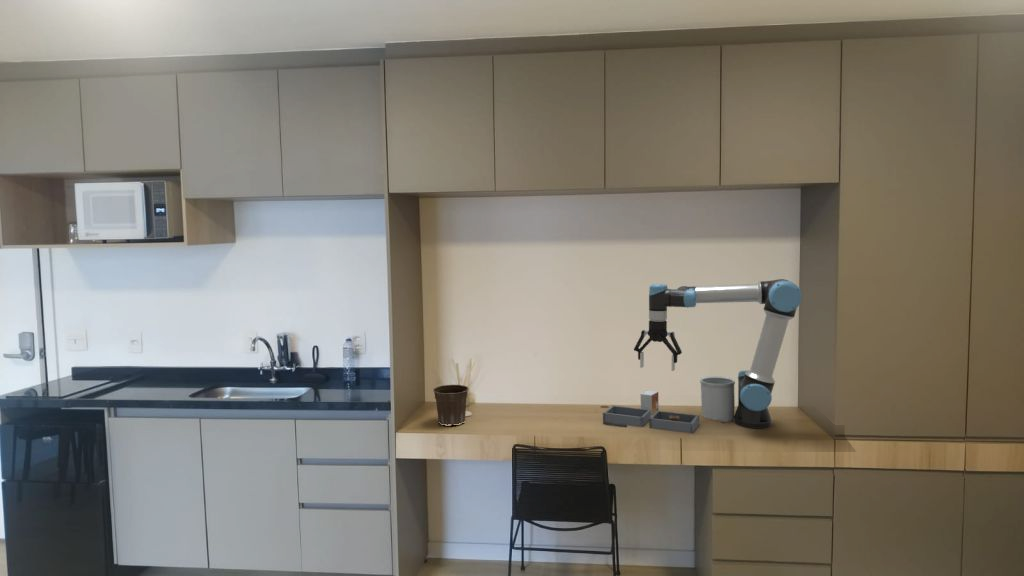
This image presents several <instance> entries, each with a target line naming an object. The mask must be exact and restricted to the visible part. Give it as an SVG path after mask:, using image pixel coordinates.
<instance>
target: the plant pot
mask: <svg viewBox="0 0 1024 576" xmlns="http://www.w3.org/2000/svg"><path fill="white" fill-rule="evenodd" d="M468 391H469V386H466V385H463V384H446V385H445V384H444V385H439V386H437V387H435V388H433V389H432V392H433V393H434V399H435V403H436V411H437V421H439V422H440V423H441V424H447V425H448V424H459V423H462V422H464V421H465V422H466V411H467V409H466V408H467V398H468V393H469V392H468ZM439 422H438V423H439Z"/></svg>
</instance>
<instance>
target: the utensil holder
mask: <svg viewBox="0 0 1024 576" xmlns="http://www.w3.org/2000/svg"><path fill="white" fill-rule="evenodd" d="M699 380H700V381H699V383H700V393H701V394H700V401H701V415H702V417H703V418H706V419H708V420H713V421H720V422H721V423H728V422H731V421H734V416H735V403H736V402H735V384H736V381H735V379H733V378H731V377H727V376H721V375H720V376H719V375H718V376H712V375H711V376H704V377H701V378H700V379H699Z"/></svg>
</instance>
